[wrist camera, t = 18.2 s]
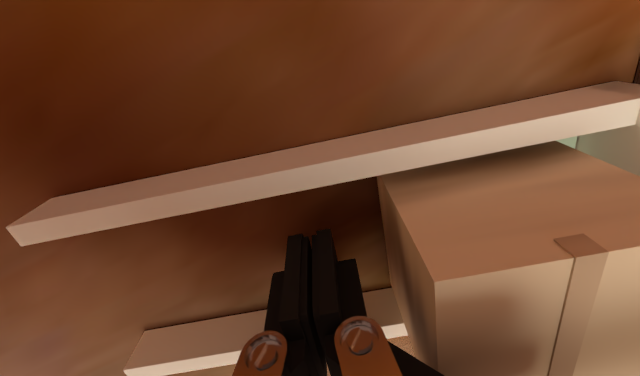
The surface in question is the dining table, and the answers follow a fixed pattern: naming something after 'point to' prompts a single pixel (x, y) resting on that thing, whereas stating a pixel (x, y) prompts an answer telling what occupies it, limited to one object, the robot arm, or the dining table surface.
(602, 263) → the cardboard box
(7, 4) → the dining table surface
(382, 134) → the bay
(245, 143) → the dining table surface
